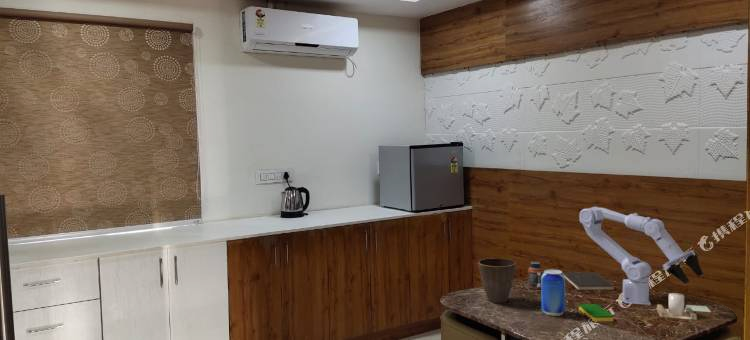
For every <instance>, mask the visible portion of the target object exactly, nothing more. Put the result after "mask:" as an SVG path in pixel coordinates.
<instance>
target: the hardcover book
mask: <svg viewBox="0 0 750 340" xmlns="http://www.w3.org/2000/svg"><path fill="white" fill-rule="evenodd" d="M562 274H563V276H564V277H565V280H567V281H568V283H570V284H572V286H574V287H575V289H577V290H579V291H580V290H581V291H583V290H584V291H585V290H588V291H589V290H590V291H591V290H593V291H594V290H599V291H601V290H602V291H603V290H606V291H608V290H609V291H610V290H611V291H612V290H613V291H614V290H616V287H615V285H614V284H612V283H611V282H609V281H608V280H606V279H605V278H603V276H601V275H600V274H598V273H597V272H595V271H594V272H589V271H588V272H562Z"/></svg>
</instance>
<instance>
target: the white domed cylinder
mask: <svg viewBox="0 0 750 340" xmlns="http://www.w3.org/2000/svg"><path fill="white" fill-rule="evenodd" d="M667 309H668V313H669V314H671V315H674V316H683V315H684V310H685V295H684V294H682V293H676V292H672V293H670V292H669V293H668V308H667Z"/></svg>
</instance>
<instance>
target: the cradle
mask: <svg viewBox="0 0 750 340" xmlns="http://www.w3.org/2000/svg"><path fill="white" fill-rule="evenodd" d="M668 309H669V308H664V306H663V304H659V303H658V304H657V307H656V308H655V310H656V311H657V313H658V315H659V317H660V318H670V319H671V318H672V319H684V320H694V321H695V320H697V321H698V320H699V319H698V317H697V314H696V313H695V311H693V310H692V309H691V307H687V306H685V309H684V315H683V316H674V315H671V314H669V313H668Z"/></svg>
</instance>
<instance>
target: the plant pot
mask: <svg viewBox="0 0 750 340" xmlns="http://www.w3.org/2000/svg"><path fill="white" fill-rule="evenodd" d="M516 264H517V263H516V261H514V260H513V259H510V258H509V259H507V258H502V257H501V258H500V257H499V258H497V257H490V258H483V259H479V261H478V268H479V269H478V271H479V273H480V279H481V282H482V286H483V289H484V292H485V294H486V298H487V300H488V301H489V303H494V304H503V303H507V302H508V298H509V296H510V293H511V291H512V286H513V283H514V277H515V271H516Z"/></svg>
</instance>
